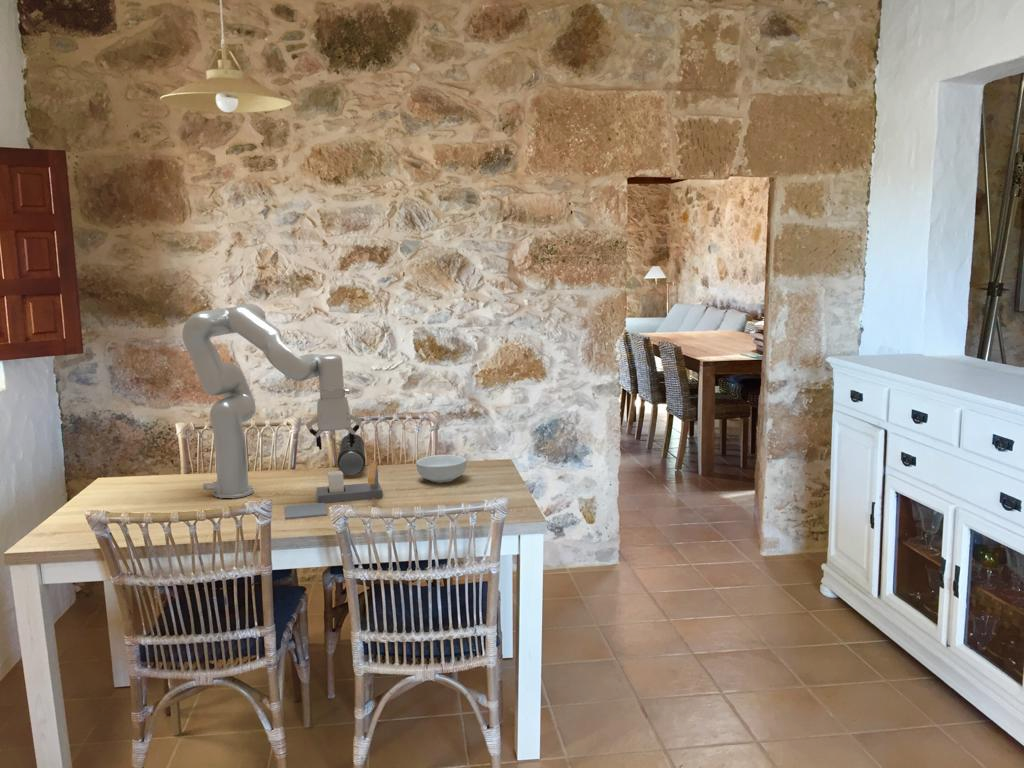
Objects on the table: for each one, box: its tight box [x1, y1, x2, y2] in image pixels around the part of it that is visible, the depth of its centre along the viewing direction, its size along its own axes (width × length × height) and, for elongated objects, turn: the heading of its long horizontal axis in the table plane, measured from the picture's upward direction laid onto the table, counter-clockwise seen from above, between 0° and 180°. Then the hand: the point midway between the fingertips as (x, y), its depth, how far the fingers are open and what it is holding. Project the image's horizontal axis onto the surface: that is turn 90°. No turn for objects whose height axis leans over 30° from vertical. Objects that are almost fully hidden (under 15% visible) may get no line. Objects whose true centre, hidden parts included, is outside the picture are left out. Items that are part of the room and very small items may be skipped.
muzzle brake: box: [337, 433, 366, 476], centre depth 305 cm, size 10×28×10 cm, turn 10°
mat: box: [284, 502, 328, 520], centre depth 257 cm, size 12×12×1 cm
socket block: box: [316, 468, 384, 504], centre depth 271 cm, size 20×10×8 cm, turn 105°
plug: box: [327, 470, 345, 493], centre depth 270 cm, size 4×4×8 cm
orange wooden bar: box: [367, 460, 379, 484], centre depth 264 cm, size 20×3×2 cm, turn 7°
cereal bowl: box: [415, 454, 467, 484], centre depth 289 cm, size 17×17×7 cm
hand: (335, 447), depth 268 cm, fingers open, 9 cm apart
